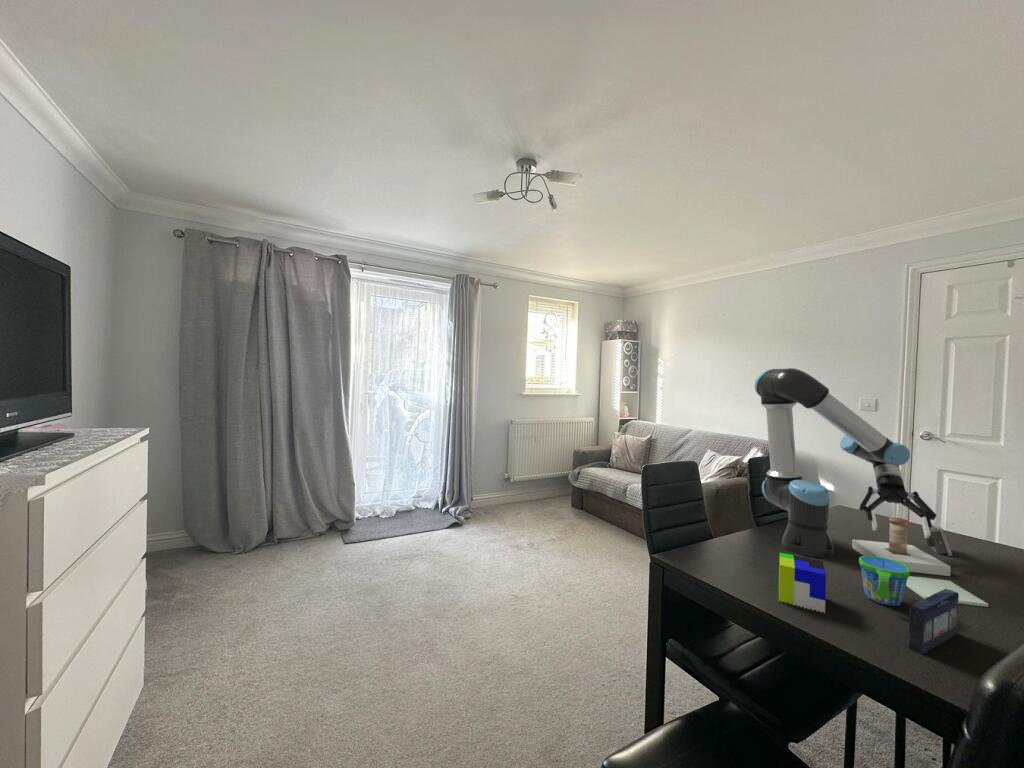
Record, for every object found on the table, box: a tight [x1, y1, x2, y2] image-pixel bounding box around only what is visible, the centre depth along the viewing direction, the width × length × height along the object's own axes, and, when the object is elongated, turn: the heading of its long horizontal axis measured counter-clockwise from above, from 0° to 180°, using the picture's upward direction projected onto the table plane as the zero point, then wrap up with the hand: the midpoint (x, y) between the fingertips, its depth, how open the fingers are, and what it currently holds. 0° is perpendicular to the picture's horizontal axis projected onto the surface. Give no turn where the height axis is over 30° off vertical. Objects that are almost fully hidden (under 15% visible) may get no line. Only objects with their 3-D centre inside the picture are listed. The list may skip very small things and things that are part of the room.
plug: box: [888, 516, 909, 555], centre depth 143 cm, size 5×5×14 cm
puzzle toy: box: [778, 552, 827, 614], centre depth 116 cm, size 10×10×10 cm
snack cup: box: [858, 555, 911, 607], centre depth 116 cm, size 16×10×10 cm
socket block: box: [851, 539, 951, 577], centre depth 143 cm, size 18×18×3 cm
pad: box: [906, 575, 989, 608], centre depth 122 cm, size 14×14×1 cm
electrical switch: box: [925, 522, 953, 557], centre depth 153 cm, size 9×5×9 cm, turn 152°
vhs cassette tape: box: [907, 589, 959, 655], centre depth 98 cm, size 18×3×10 cm, turn 115°
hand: (901, 532), depth 144 cm, fingers open, 13 cm apart
